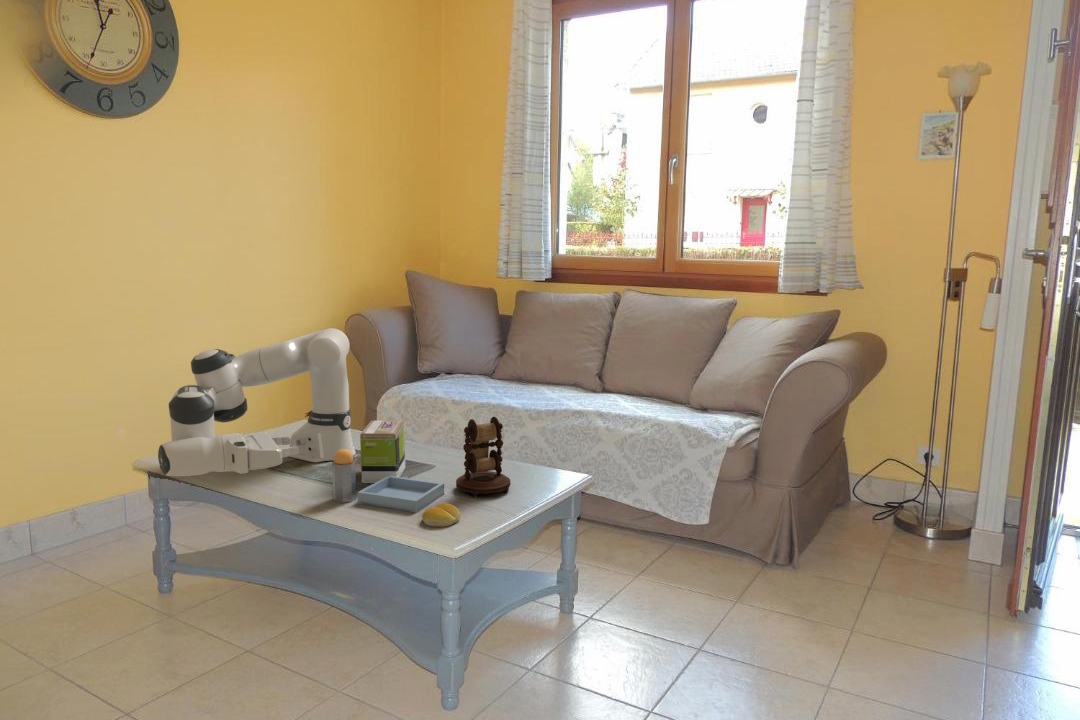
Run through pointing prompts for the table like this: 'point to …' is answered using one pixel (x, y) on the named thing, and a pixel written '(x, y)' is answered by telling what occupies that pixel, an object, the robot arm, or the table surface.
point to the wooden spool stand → (483, 459)
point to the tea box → (382, 450)
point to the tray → (401, 493)
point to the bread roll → (441, 515)
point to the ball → (343, 457)
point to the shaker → (344, 482)
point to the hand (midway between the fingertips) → (293, 444)
